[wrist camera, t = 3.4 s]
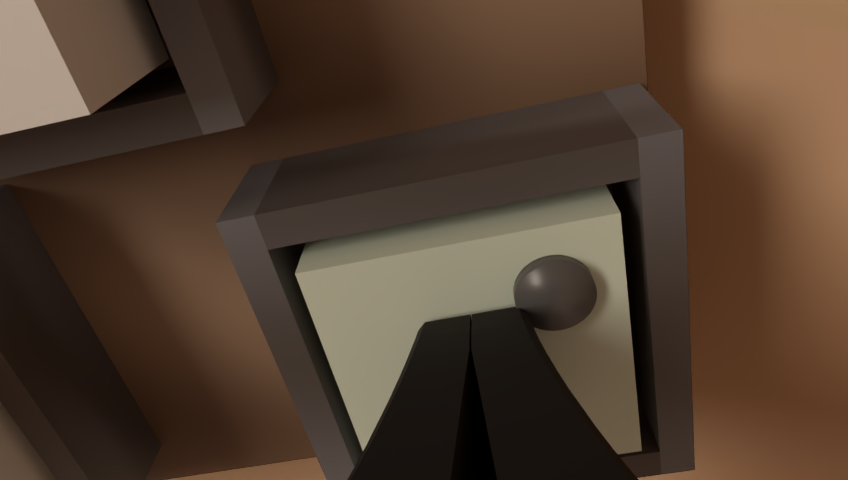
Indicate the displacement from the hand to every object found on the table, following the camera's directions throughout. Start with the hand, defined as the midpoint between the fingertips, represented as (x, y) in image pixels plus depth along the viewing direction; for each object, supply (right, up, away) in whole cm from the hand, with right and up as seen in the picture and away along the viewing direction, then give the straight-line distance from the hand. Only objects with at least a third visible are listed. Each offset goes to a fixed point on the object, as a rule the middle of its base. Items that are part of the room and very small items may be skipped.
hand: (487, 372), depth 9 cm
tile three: (0, +1, +2) cm, 2 cm away
